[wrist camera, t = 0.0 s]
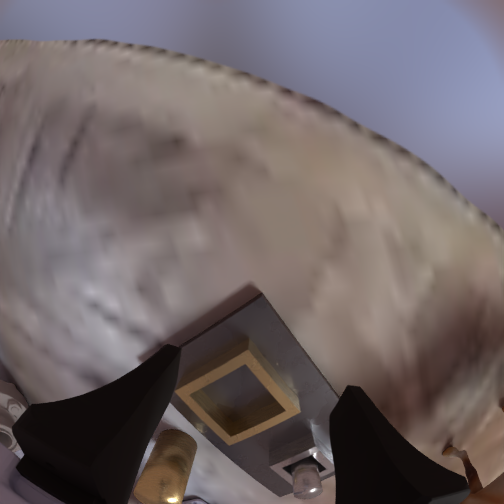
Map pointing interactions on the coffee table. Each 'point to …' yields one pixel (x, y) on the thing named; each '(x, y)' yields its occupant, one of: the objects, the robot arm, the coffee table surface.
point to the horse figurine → (478, 482)
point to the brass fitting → (167, 469)
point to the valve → (10, 413)
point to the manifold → (259, 399)
